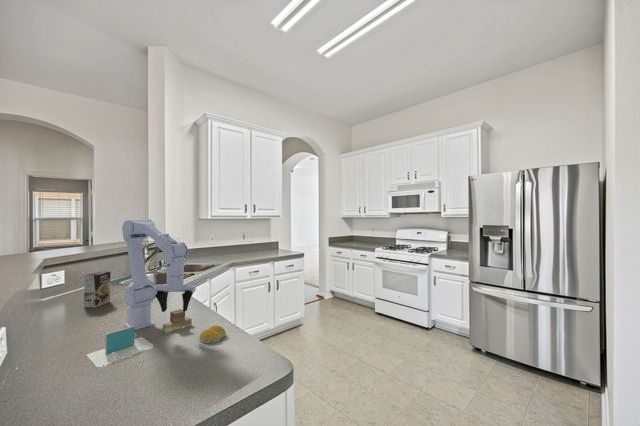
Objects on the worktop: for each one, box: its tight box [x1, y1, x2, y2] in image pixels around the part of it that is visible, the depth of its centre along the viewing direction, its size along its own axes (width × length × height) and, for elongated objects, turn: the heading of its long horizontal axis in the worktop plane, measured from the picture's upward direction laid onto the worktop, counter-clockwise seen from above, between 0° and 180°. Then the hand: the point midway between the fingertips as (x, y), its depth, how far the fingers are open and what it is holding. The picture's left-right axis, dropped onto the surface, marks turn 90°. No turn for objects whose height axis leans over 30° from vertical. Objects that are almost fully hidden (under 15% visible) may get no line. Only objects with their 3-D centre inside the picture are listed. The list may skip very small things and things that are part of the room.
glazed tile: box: [104, 326, 136, 354], centre depth 91 cm, size 2×8×6 cm, turn 143°
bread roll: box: [198, 325, 227, 344], centre depth 100 cm, size 8×9×4 cm
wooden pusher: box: [162, 308, 193, 334], centre depth 108 cm, size 4×10×7 cm, turn 143°
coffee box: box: [83, 271, 112, 308], centre depth 137 cm, size 9×6×16 cm
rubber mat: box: [86, 336, 154, 368], centre depth 90 cm, size 13×16×1 cm
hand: (174, 310), depth 101 cm, fingers open, 7 cm apart
